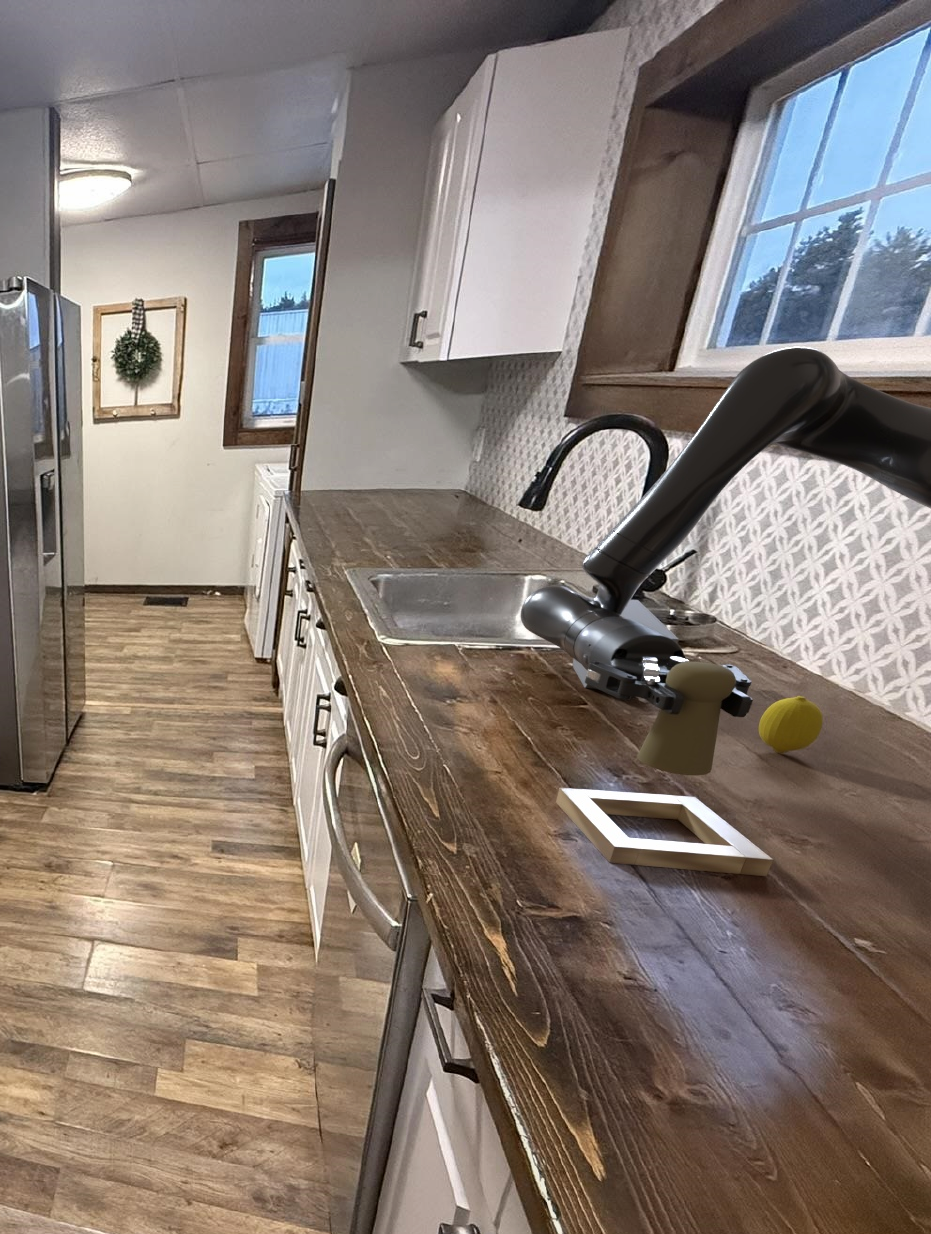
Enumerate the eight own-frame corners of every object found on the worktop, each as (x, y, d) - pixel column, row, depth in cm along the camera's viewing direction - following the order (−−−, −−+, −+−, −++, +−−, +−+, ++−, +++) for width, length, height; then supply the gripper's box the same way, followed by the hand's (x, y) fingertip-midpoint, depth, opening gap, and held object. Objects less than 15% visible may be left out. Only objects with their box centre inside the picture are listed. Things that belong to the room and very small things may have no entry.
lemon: (819, 764, 98) (843, 705, 95) (764, 759, 100) (786, 702, 97) (793, 746, 103) (815, 690, 100) (741, 742, 105) (761, 687, 102)
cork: (723, 778, 79) (759, 676, 74) (650, 772, 81) (681, 672, 76) (695, 753, 84) (728, 657, 80) (627, 748, 86) (655, 654, 82)
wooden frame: (689, 811, 89) (695, 796, 88) (766, 876, 77) (773, 859, 76) (555, 802, 92) (559, 787, 92) (609, 862, 81) (614, 846, 80)
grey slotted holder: (657, 708, 117) (679, 639, 113) (592, 701, 120) (611, 634, 116) (620, 660, 137) (638, 600, 133) (566, 655, 140) (581, 597, 136)
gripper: (563, 623, 92) (636, 669, 77) (707, 625, 89) (814, 674, 74) (548, 682, 95) (616, 737, 80) (687, 686, 92) (786, 745, 77)
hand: (710, 706), depth 77 cm, fingers closed on cork, 5 cm apart
